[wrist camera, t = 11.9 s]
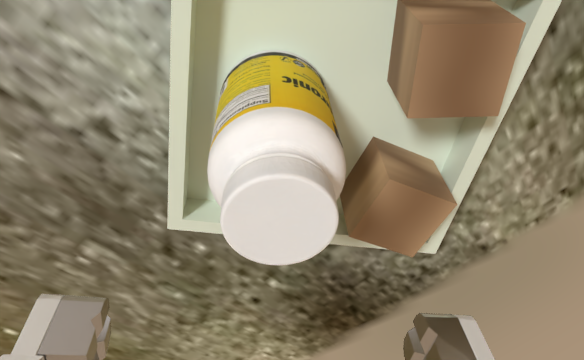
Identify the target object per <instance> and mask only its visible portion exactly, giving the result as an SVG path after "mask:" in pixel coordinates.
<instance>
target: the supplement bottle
mask: <svg viewBox="0 0 584 360" xmlns="http://www.w3.org/2000/svg"><path fill="white" fill-rule="evenodd" d="M207 174H208V183H209V186H210V189H211V192H212V194H213V196H214V198H215V200H216V202H217V203H218V204H219V206H220V207H221V214H220V224H221V230H222V233H223V235H224V237H225V239H226V241H227V242H228V244H229V245H230V246H231V247H232V248H233V249H234V250H235V251H236V252H238V253H239V254H240V255H242V256H244V257H245V258H247V259H250V260H252V261H255V262H258V263H262V264H267V265H289V264H294V263H299V262H302V261H304V260H307V259H309V258H311V257H313V256H315V255H317V254H318V253H319V252H321V251H322V250H323V249H324V248H325V247H326V246H327V245H328V244H329V243H330V242H331V240H332V239H333V237H334V235H335V233H336V231H337V227H338V223H339V214H338V207H337V202H336V201H337V199H338V197H339V196H340V194H341V192H342V189H343V186H344V183H345V177H346V161H345V156H344V151H343V146H342V143H341V140H340V137H339V133H338V130H337V126H336V123H335V119H334V116H333V112H332V108H331V105H330V101H329V96H328V93H327V90H326V87H325V84H324V82H323V80H322V78H321V76H320V74H319V73H318V71H317V70H316V69H315V68H314V67H313V65H312V64H310V63H309V62H308V61H307V60H305V59H304V58H302V57H300V56H298V55H296V54H294V53H291V52H288V51H283V50H265V51H260V52H257V53H254V54H251V55H249V56H247V57H245V58H244V59H242V60H241V61H240V62H238V63H237V64H236V65H235V66H234V67H233V68H232V69H231V70H230V72H229V73H228V75H227V76H226V78H225V80H224V82H223V85H222V88H221V92H220V97H219V102H218V107H217V113H216V119H215V124H214V130H213V135H212V141H211V147H210V152H209V158H208V167H207Z"/></svg>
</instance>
